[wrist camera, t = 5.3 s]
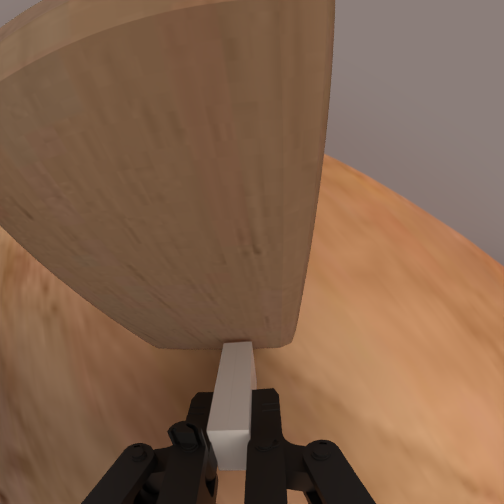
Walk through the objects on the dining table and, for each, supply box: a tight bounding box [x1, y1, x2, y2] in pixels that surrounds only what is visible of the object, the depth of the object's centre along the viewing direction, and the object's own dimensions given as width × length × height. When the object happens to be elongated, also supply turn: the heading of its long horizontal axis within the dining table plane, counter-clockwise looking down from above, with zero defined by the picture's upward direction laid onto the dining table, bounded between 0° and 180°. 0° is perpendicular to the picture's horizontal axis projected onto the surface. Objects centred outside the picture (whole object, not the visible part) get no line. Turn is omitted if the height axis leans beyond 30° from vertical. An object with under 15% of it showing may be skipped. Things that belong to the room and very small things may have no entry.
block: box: [0, 0, 335, 349], centre depth 13 cm, size 10×10×20 cm
